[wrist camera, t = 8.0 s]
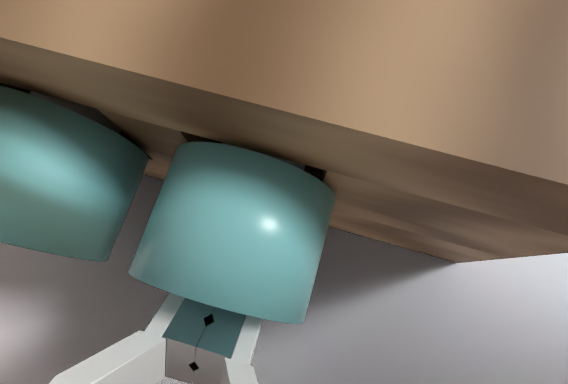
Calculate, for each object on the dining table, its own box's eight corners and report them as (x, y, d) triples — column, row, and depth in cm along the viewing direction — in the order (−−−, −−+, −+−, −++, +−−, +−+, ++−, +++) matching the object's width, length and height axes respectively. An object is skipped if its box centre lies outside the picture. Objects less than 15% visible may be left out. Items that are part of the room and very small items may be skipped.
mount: (485, 83, 19) (732, -158, 9) (444, 352, 16) (780, 507, 5) (161, 4, 21) (32, -286, 10) (55, 235, 17) (-321, 163, 6)
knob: (373, 28, 16) (417, -95, 11) (299, 312, 13) (310, 336, 8) (265, 2, 17) (256, -129, 11) (166, 272, 14) (87, 267, 8)
